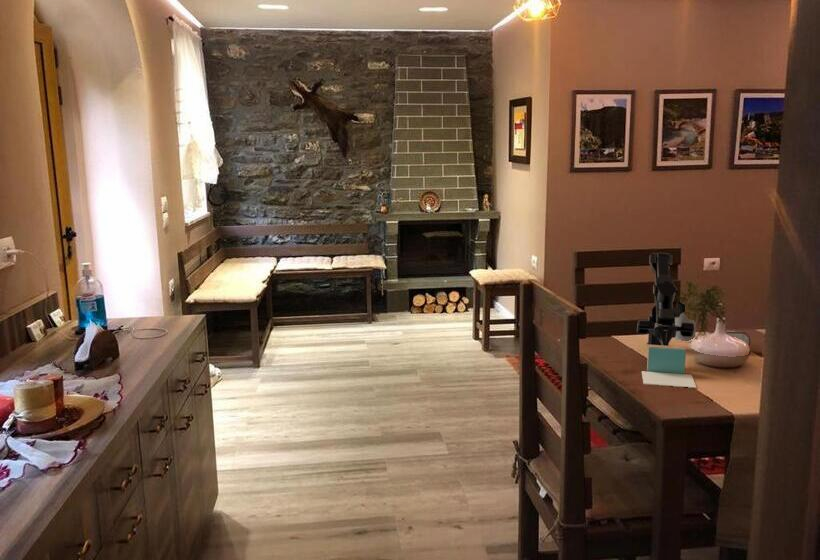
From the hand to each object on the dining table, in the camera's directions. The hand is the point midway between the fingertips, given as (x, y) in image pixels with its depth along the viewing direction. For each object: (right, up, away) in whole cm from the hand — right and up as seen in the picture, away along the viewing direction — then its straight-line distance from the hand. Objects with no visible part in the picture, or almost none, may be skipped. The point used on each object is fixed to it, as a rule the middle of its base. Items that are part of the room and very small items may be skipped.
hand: (665, 348), depth 233 cm
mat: (-4, -9, -12) cm, 15 cm away
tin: (+32, -3, +20) cm, 38 cm away
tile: (-1, -8, -3) cm, 8 cm away
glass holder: (+22, 0, +41) cm, 47 cm away
